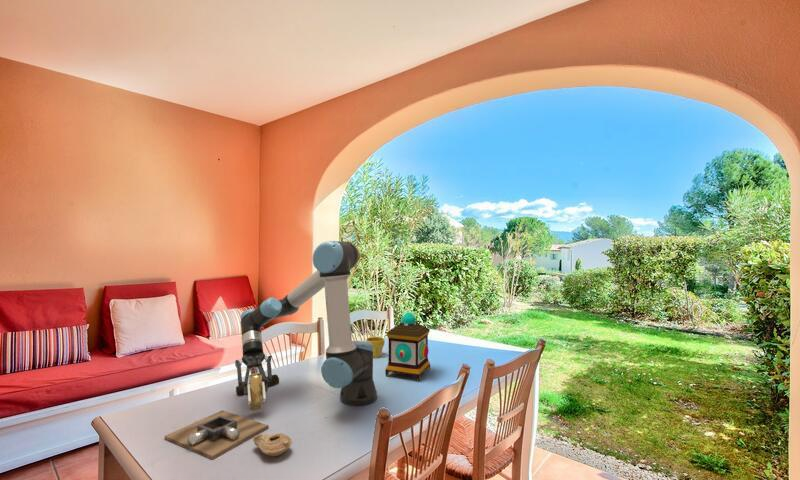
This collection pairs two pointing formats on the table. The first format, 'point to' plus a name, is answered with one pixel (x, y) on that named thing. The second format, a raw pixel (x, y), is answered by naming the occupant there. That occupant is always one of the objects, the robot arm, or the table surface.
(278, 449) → the pottery oil lamp
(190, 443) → the socket housing
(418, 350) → the decorative lantern
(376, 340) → the plant pot
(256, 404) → the cylinder
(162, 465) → the table surface
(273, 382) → the hand tool
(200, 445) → the mounting board
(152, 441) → the table surface
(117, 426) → the table surface
